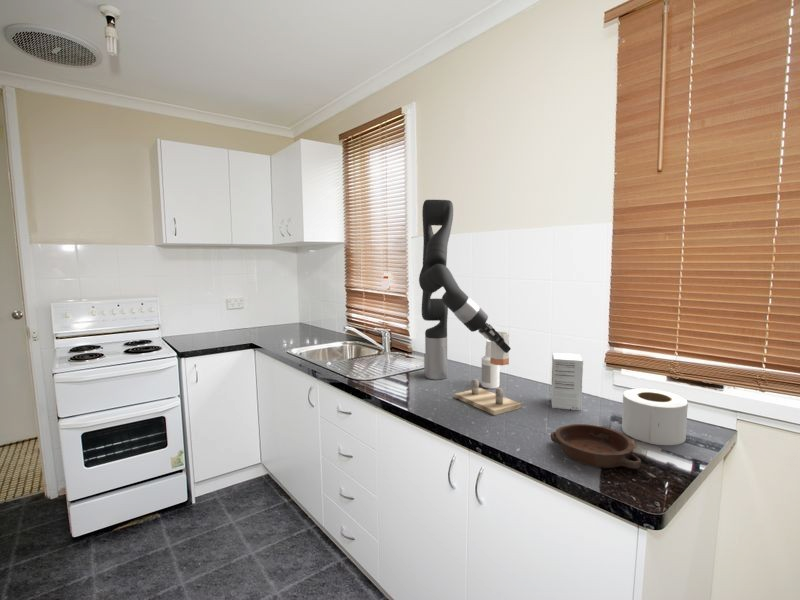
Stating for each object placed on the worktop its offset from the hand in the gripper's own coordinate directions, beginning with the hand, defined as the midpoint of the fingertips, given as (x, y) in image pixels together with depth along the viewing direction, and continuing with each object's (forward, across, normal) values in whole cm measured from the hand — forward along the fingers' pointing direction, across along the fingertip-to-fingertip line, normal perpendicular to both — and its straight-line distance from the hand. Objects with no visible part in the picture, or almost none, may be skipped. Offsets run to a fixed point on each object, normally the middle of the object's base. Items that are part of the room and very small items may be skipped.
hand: (504, 348), depth 137 cm
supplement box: (+30, 0, -1) cm, 30 cm away
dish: (+22, -35, +8) cm, 42 cm away
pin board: (+11, +6, +17) cm, 21 cm away
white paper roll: (+38, -26, -10) cm, 47 cm away
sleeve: (+2, 0, +5) cm, 5 cm away
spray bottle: (+17, +23, +12) cm, 31 cm away
